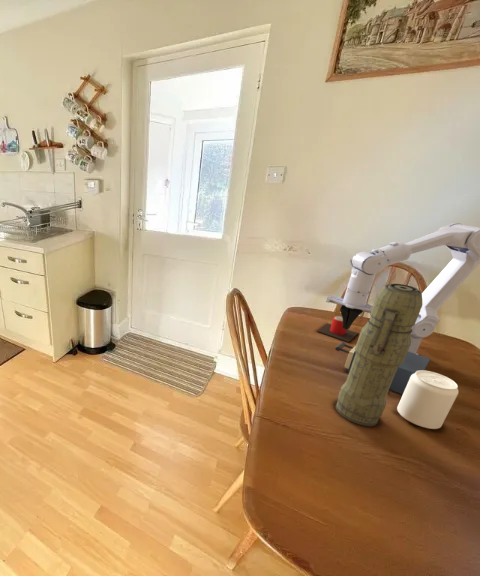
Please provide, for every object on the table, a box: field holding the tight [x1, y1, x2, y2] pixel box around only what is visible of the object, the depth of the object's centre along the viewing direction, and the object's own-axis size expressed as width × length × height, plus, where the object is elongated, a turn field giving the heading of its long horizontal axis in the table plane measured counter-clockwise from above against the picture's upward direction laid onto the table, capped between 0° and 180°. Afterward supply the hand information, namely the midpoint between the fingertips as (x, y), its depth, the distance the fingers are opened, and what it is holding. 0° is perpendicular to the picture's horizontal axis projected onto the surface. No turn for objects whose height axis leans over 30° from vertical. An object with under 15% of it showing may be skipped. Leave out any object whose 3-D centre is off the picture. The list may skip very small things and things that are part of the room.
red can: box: [330, 315, 347, 335], centre depth 118 cm, size 5×5×6 cm
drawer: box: [334, 341, 356, 370], centre depth 96 cm, size 18×11×6 cm, turn 37°
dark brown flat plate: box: [317, 323, 359, 343], centre depth 119 cm, size 10×10×1 cm
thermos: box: [335, 283, 423, 427], centre depth 74 cm, size 9×12×35 cm
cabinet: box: [347, 351, 431, 395], centre depth 93 cm, size 15×13×8 cm
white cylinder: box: [396, 370, 459, 430], centre depth 77 cm, size 8×8×12 cm
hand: (346, 328), depth 104 cm, fingers closed
